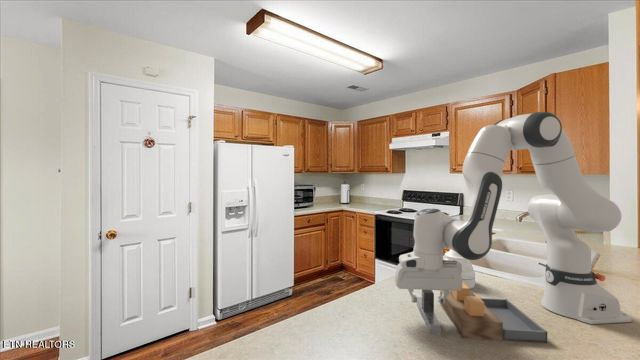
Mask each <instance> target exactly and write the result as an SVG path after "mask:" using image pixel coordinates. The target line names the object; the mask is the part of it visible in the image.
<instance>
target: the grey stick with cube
mask: <svg viewBox="0 0 640 360" xmlns="http://www.w3.org/2000/svg"><path fill="white" fill-rule="evenodd" d="M433 291H434V290H421V296H420V297H419V296H416V297H417V303H416V307H417V309H418V311H419V313H420V315H421V318H422V320H423V322H424V324H425V326H426V328H427V330H428V331H427V332H428V333H429V335H438V336H441V335H442V325H441V323H440V321H439V319H438V318H437V316H436V314H435V293H434V292H433Z"/></svg>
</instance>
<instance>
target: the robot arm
mask: <svg viewBox="0 0 640 360" xmlns="http://www.w3.org/2000/svg"><path fill="white" fill-rule="evenodd" d="M565 131H566V130H564V129H563V126H562V123H561V120H560V119H559V117H557V116H556V115H555V114H554V113H552V112H549V111H538V112H533V113H525V114H519V115H515V116H513V117H510V118H506V119H501V120H498V121H496V122H495V123H493V124H489V125H485V126H484V127H481V129H480V130H479V131H478V132H477V134H476V135H475V137H474V139H473V140H472V142H471V144H470V146H469V148H468V150H467V153H466V156H465V158H464V160H463V163H462V168H461V169H462V170H461V173H462V175H463V177H464V179H465V180H466V181H467V182H468V183H469V184H470V185H471V186H472V187H473V189H474V199H473V202H472V205H471V210H470V213H469V217H468V219H467V220H466V221H464V220H461V219H459V218H458V219H457V218H455V217H453V216H450V215H448V214H446V213H444V212H443V211H442V210H441V209H439V208H425V209H422V210H419V211H418V212H416V214H415V217H414V222H413V239H414V245H413V250H412V251H411V252H407V253H403V254H400V255H399V257H398V262H399V263H398V264H397V266H396V269H395V274H394V275H395V276H394V279H395V280H394V282H395V286H396V287H397V288H398V289H399V290H401V289H402V290H407V291H408V293H409V295H410V300H411V302H412V303H416V304H417V297H418V296H417V295H415V294H413V293H414V290H419V291H422V290H432V291H443V294H442V295H441V296H440V295H439V296H437V297H438V300H437V301H438V303H439V305H440V304H445V299H446V297H447V296H448V294H449V291H460V290H461V289H462V277H461V273H462V265H461V263H459V262H457V261H455V260H453V261H449V260H446V259H444V250H445V249H449V250H450V249H452V250H453V251H455V252H457V253H458V254H459V255H461V256H462V257H463V258H465V259H468V260H470V261H477V260H480V259H482V258H484V257H486V256H487V255H488V253H489V252H490V250H491V248H492V245H493V244H492V242H493V227H494V223H495V220H496V219H495V218H496V215H497V212H498V211H497V210H498V207H499V205H500V199H501V197H502V196H501V195H502V190H503V181H502V173H503V171H504V167H505V164H506V163H507V159H508V156H509V153H510V151H523V150H528V151H529V153H530V160H531V162H532V167H533V169H534V172H535V175H536V179H537V181H538V184H539V185H540V186H541V187H543V188H544V189H545V190H548V191H550V192H551V193H552V194H551V193H549V194H539V195H534V196H533V197H532V198H531V199H530V200H529V201H528V205H527V212H528V215H529V216H530V217H531V219H532V220H534V221H535V222H536V223H537V225H538V226H539V228H540V230H541V231H542V234H543V236H544V238H545V243H546V250H547V251H546V253H547V254H546V255H547V258H546V260H547V261H546V262H547V263H546V264H545V274H544V275H545V286H544V287H545V288H544V291H543V292H544V293H543V296H542V298H541V300H540V304H541V306H542V307H543V308H545V309H546V310H548V311H551V312H553V313H555V314H558V315H560V316H564V317H566V318H571V319H574V320H577V321H580V322H582V323H586V324H591V325H593V324H594V325H597V324H611V323H612V324H613V323H615V324H617V323H630V322H632V317H630V315H629V314H627V313H625V312H624V311H623V310H621V304H620V302H619V298H617V297H616V296H615V295H614V294H612V293H611V292H610V291H608V290H607V289H606V288H605V287H603V286H601V285H600V284H599V283H598V281H597V280H599V281H600V282H605V280H606V279H607V278H606V276H605V275H603V274H601V273H599V272H597V273H595V272H593V271H592V250H591V248H590V246H589V245H588V243H586V242H585V241H583V240H582V239H581V238H579V236H578V235H577V233H576V231H575V230H579V231H585V232H595V233H596V232H604V233H605V232H607V233H608V232H610V231H613V230H615V229H617V228H618V226H619V225H620V223H621V222H622V221H621V220H622V211H621V209H620V207H619V206H618V205H617V204H616V202H614V201H612V200H611V199H608V198H606V197H605V196H604V195H602V194H600V193H599V192H598V191H596V190H595V189H594V188H593V187H592V186H591V185H590V184H589V182H588V181H587V180H586V179H585V178H584V175H583V174H582V171H581V169H580V166H579V163H578V159H577V157H576V154H575V150H574V147H573V145H572V143H571V140H570V139H569V137H568V135H567V133H566V132H565ZM457 263H458V264H457Z"/></svg>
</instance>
